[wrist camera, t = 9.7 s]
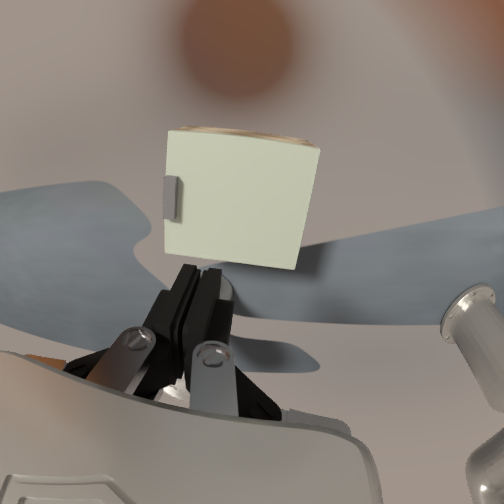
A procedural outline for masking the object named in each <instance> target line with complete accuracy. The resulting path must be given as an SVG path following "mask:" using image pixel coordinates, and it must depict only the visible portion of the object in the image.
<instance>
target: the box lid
mask: <svg viewBox="0 0 504 504" xmlns="http://www.w3.org/2000/svg"><path fill="white" fill-rule="evenodd" d="M168 132H169V133H168V144H167V161H166V176H165V177H164V188H163V189H164V190H163V219H165V253H171V254H178V255H185V256H192V257H199V258H207V259H215V260H222V261H229V262H237V263H244V264H252V265H260V266H267V267H275V268H283V269H291V270H295V266H296V262H297V258H298V253H299V249H300V245H301V240H302V236H303V232H304V227H305V223H306V218H307V214H308V209H309V204H310V199H311V195H312V190H313V185H314V180H315V175H316V170H317V165H318V160H319V155H320V149H319V148H316V147H311V146H306V145H300V144H295V143H289V142H283V141H277V140H270V139H263V138H256V137H248V136H240V135H231V134H221V133H210V132H198V131H182V130H170V131H168Z"/></svg>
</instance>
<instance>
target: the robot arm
mask: <svg viewBox="0 0 504 504" xmlns="http://www.w3.org/2000/svg"><path fill="white" fill-rule="evenodd" d="M221 275H222V269H216V268H209V269H208V271H207V270H204V271H203V274H202V276H201V270H200V269H197V266H196V265H189V264H184V265H183V266H182V268H181V270H180V272H179V274H178V276H177V279H176V280H175V282H174V284H173V286H172V288H171V290H170V291H169V290H161V292H160V293H159V295H158V297H157V299H156V301H155V303H154V304H153V306H152V308H151V310H150V312H149V314H148V316H147V318H146V320H145V322H144V324H143V326H142V327H141V326H134V327H130V328H127V329H125V330H124V331H123V332H122V333H121V334H120V335H119V336H118V337H117V339H116V340H115V341H114V342H113V344H112V345H111V346H110V348H107V349H104V350H101V351H98V352H95V353H93V354H90V355H87V356H84V357H81V358H78V359H75V360H73V361H71V362H69V363H66V360H60V359H54V358H48V357H42V356H36V355H31V354H26V355H21V354H18V353H14V352H9V351H0V504H383V498H382V490H381V485H380V480H379V475H378V471H377V468H376V464H375V462H374V459H373V456H372V454H371V452H370V450H369V449H368V448H367V446H366V445H365V444H364V443H363V442H361V441H360V440H358V439H356V438H354V437H352V436H351V430H350V428H349V427H348V425H347V424H345V423H344V422H343V421H340V420H338V419H332V418H328V417H323V416H318V415H314V414H309V413H305V412H301V411H297V410H293V409H290V410H289V411H287V410H283V409H280V408H279V407H278V405H277V404H276V403H275V402H273V400H272V399H270V398H269V397H268V396H267V395H266V394H265V393H264V392H263V391H262V390H260V389H259V388H258V387H257V386H256V385H255V384H254V383H253V382H252V381H251V380H250V379H249V378H247V376H246V375H245V374H243V373H242V372H241V371H240V370H239V369H238V368H237V367H236V366H235V361H234V354H233V351H232V350H231V348H230V347H229V346H228V343H229V337H230V331H231V324H232V317H233V309H234V301H230V300H223V299H219V298H220V286H221ZM440 333H441V335H442V337H443V339H444V340H445V341H446V342H448V343H456V344H457V345H458V347H459V349H460V351H461V353H462V354H463V356H464V358H465V360H466V361H467V363H468V365H469V367H470V369H471V370H472V372H473V374H474V376H475V378H476V380H477V381H478V384H479V385H480V387H481V389H482V391H483V393H484V395H485V397H486V399H487V401H488V403H489V405H490V406H491V407H492V408H493V409H494V410H496V411H499V412H503V413H504V315H503V314H501V312H500V311H499V310H498V309H497V307H496V306H495V293H494V291H493V289H492V288H491V287H490V286H488V285H486V284H479V285H476V286H473V287H471V288H469V289H468V290H466V291H465V292H463V293H462V294H461V295H460V296H459V297H458V298H457V299H456V300H455V301H454V302H453V303H452V304H451V306H450V307H449V308H448V310H447V312H446V313H445V315H444V317H443V319H442V322H441V326H440ZM183 373H184V377H185V385H186V389H187V391H188V392H189V393H190V405H189V409H188V408H183V407H178V406H174V405H169V404H165V403H161V402H159V400H160V398H161V396H162V394H163V391H164V390H163V388H165V387H167V386H169V385H175V384H176V381H177V379H182V376H183ZM465 470H466V479H467V483H468V487H469V490H470V494H471V497H472V500H473V504H504V428H503V429H502V430H500V431H499V432H498V433H497V434H495V435H494V436H493V437H491V438H490V439H489V440H487V441H486V442H485V443H483V444H482V445H481V446H479V447H478V448H477V449H475V450H474V452H473V453H471V455H470V456H469V458H468V459H467V462H466V469H465Z"/></svg>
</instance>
